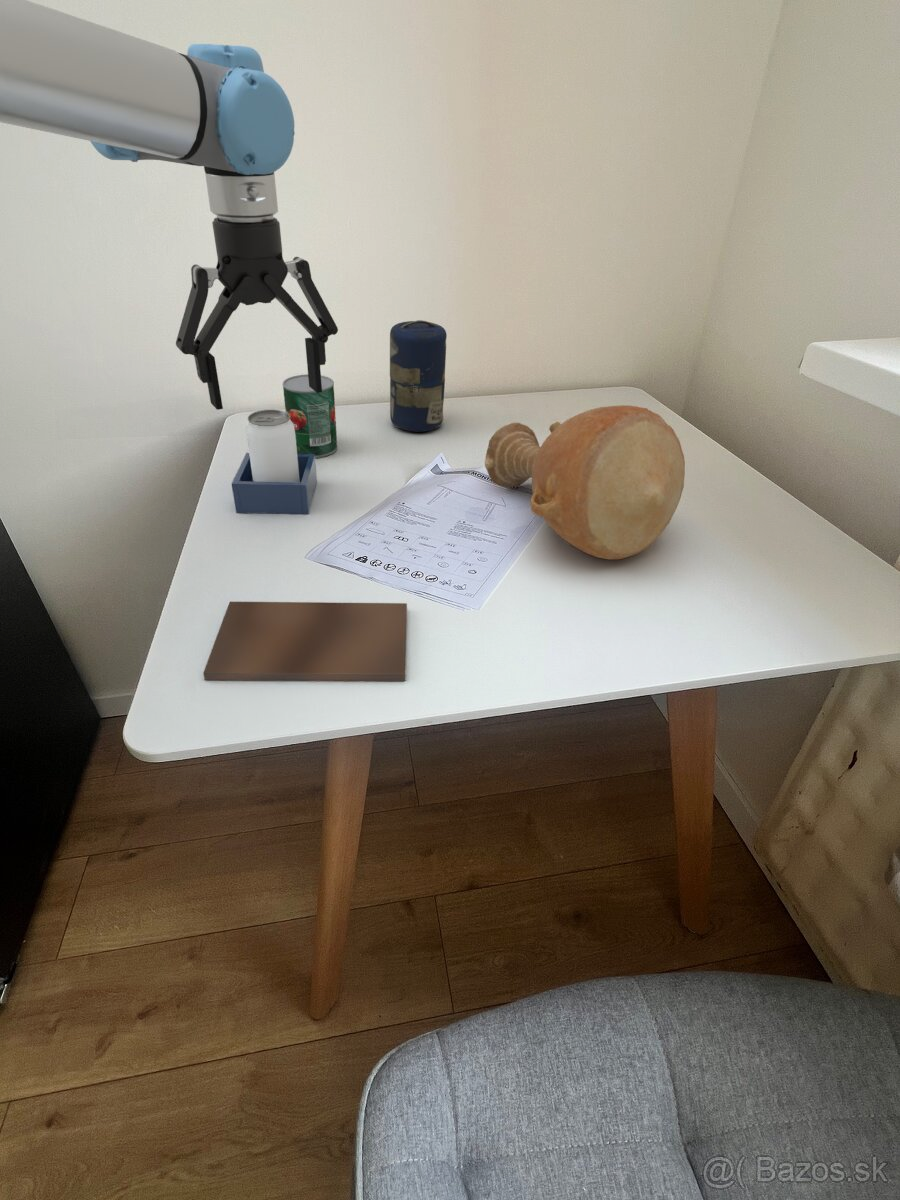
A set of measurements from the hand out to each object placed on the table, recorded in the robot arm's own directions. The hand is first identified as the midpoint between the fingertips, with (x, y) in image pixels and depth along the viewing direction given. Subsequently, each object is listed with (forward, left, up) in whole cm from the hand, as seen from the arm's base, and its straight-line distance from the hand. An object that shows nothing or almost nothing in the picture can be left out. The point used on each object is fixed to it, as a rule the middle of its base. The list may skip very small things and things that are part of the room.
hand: (267, 397), depth 93 cm
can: (0, 0, -15) cm, 15 cm away
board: (+9, -33, -15) cm, 37 cm away
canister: (+20, +28, -15) cm, 37 cm away
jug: (+42, -6, -15) cm, 45 cm away
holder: (0, 0, -15) cm, 15 cm away
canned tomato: (+3, +17, -15) cm, 23 cm away
